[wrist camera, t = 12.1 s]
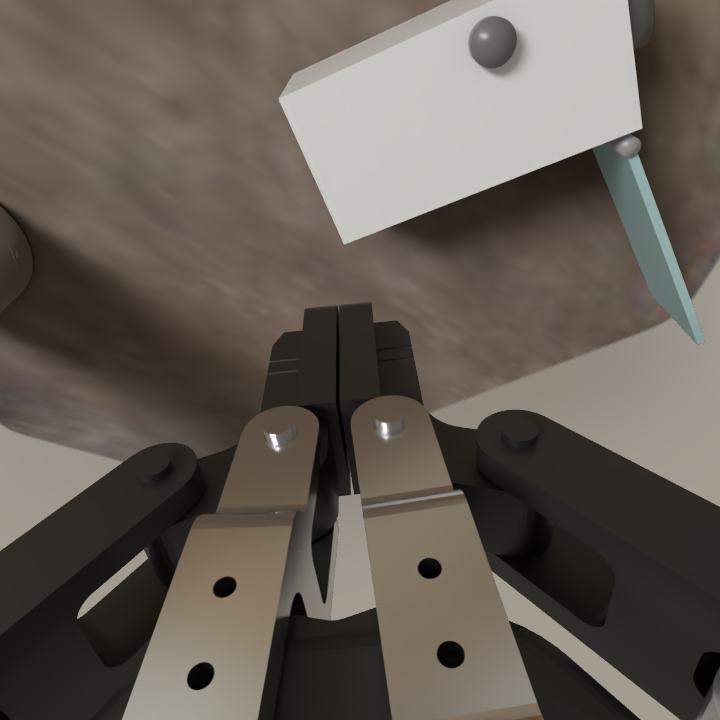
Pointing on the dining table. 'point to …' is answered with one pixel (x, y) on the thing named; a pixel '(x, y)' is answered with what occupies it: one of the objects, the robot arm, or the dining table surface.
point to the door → (646, 229)
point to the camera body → (464, 102)
